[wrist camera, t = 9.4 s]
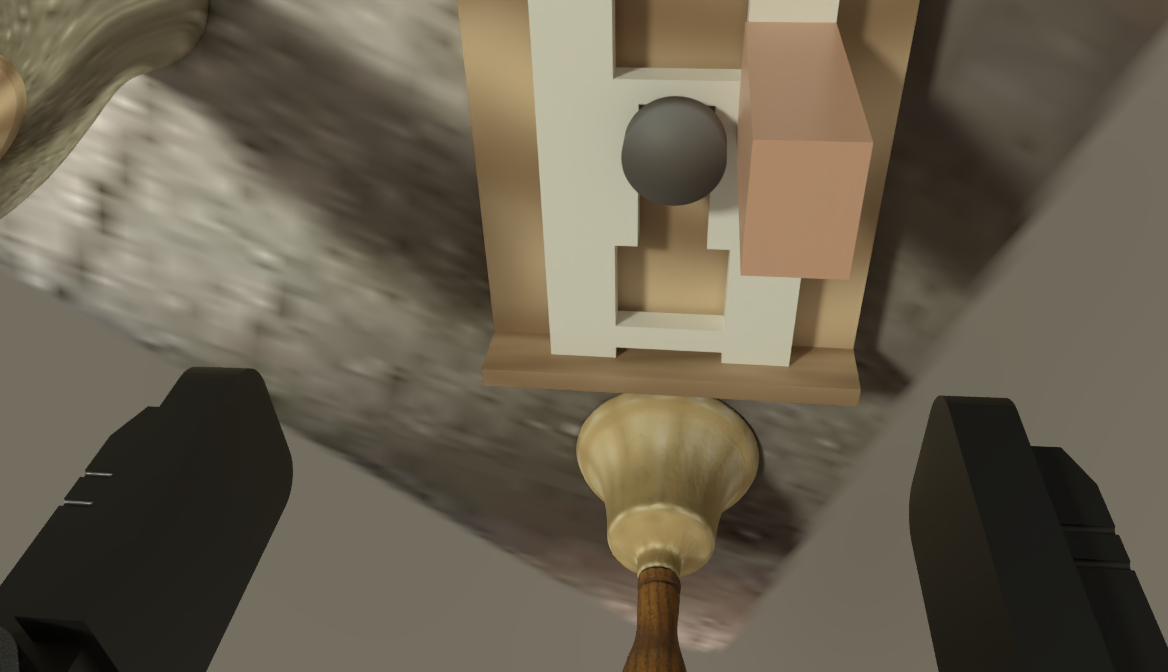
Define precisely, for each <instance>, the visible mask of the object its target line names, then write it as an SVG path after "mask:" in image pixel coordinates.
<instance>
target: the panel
mask: <svg viewBox="0 0 1168 672" xmlns="http://www.w3.org/2000/svg"><path fill="white" fill-rule="evenodd" d="M838 7H839V0H749V2H748V15H747V22H745V30H744V43H743V56H742V69H697V68H630V67H616V38H615V0H528V10H529V25H530V40H531V55H532V70H533V86H534V101H535V116H536V131H537V146H538V161H539V176H540V191H541V206H542V222H543V237H544V252H545V267H546V282H547V297H548V312H549V327H550V342H551V354H555V355H575V356H594V357H613V358H616V353H617V347H619V348H639V349H659V350H679V351H699V352H718V353H721V363H729V364H749V365H768V366H787V367H789V361H790V354H791V347H792V340H793V332H794V325H795V318H796V311H797V304H798V296H799V289H800V282H801V278H814V279H839V280H849V277H850V272H851V266H852V260H853V255H854V249H855V243H856V238H857V232H858V226H859V221H860V215H861V209H862V204H863V198H864V192H865V187H866V181H867V176H868V170H869V164H870V159H871V153H872V147H873V140H872V137H871V133H870V130H869V127H868V124H867V120H866V117H865V114H864V111H863V107H862V104H861V101H860V98H859V94H858V91H857V88H856V85H855V81H854V78H853V75H852V72H851V68H850V65H849V62H848V59H847V55H846V52H845V49H844V46H843V42H842V39H841V36H840V33H839V29H838V26H837V23H836V22H837V14H838ZM668 96H684V97H688V98H692V99H695V100H698V101H700V102H702V103H703V104H705V105H706V106H715V114H716V115H717V116H718V117H719V119H720V120H721V122H722V124H723V126H724V129H725V133H726V138H727V164H726V169H725V172H724V175H723V177H722V179H721V181H720V182H719V184H718V185H717V186H716V188H715V189H714V190H713V191H712V192H711V193H710V199H709V215H708V231H707V249H717V250H729V256H728V269H727V282H726V294H725V307H724V315H704V314H682V313H660V312H638V311H618V263H617V246H637V247H638V239H639V232H640V194H639V193H638V192H636V191H635V190H634V189H633V187H632V186H631V185H630V184H629V182H628V180H627V179H626V177H625V174H624V172H623V168H622V162H621V153H622V147H623V142H624V137H625V132H626V129H627V126H628V124H629V122H630V120H631V119H632V118H633V116H634V115H635V114H636V113H637V112H638V111H639V110H640V109H641V104H648V103H650V102H652V101H654V100H656V99H659V98H663V97H668Z"/></svg>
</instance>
